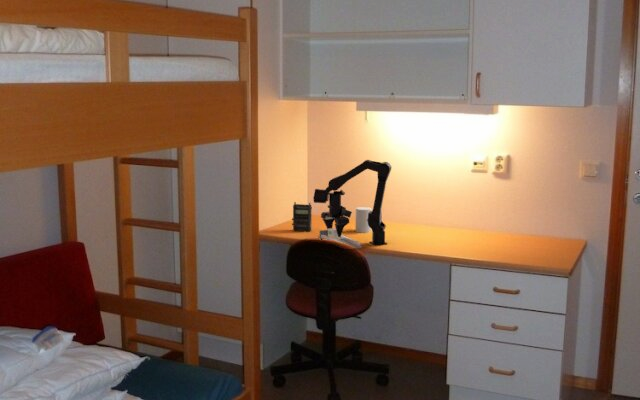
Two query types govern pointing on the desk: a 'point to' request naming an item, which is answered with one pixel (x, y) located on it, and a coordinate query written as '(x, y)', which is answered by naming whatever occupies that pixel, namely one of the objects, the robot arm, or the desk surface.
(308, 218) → the geiger counter
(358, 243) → the rail board
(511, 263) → the desk surface
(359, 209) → the cup
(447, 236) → the desk surface
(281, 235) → the desk surface
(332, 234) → the block
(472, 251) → the desk surface
